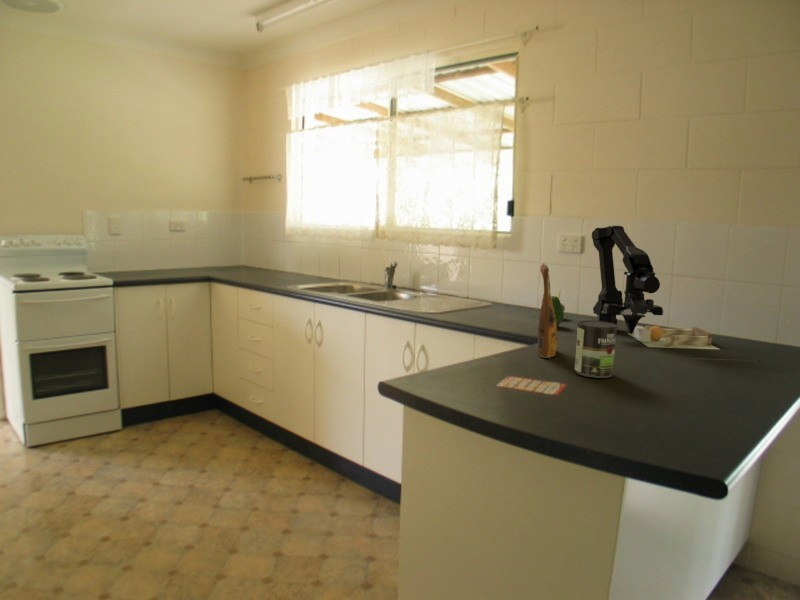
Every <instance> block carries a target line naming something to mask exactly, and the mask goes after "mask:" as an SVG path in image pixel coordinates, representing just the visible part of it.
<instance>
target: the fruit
mask: <svg viewBox="0 0 800 600" xmlns="http://www.w3.org/2000/svg"><path fill="white" fill-rule="evenodd" d="M551 298H552V303H553V308H554V314H555V319H556V326H557V327H558V326H560V325H561V324H562V322H563V320H564V316H565V313H564V312H565V311H563V308H562V305H561V304H562V303H561V300H560V298H559V299H558V296H554V295H553V296H552V295H551Z"/></svg>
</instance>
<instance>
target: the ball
mask: <svg viewBox="0 0 800 600" xmlns="http://www.w3.org/2000/svg"><path fill="white" fill-rule="evenodd" d="M650 327H651V328H649V331H651V334H650V339H652V340H659V339H661V338H662V337H663V330H662V329H663V328H662V327H660V326H658V325H653V326H650ZM661 328H662V329H661Z"/></svg>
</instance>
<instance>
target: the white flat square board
mask: <svg viewBox="0 0 800 600" xmlns="http://www.w3.org/2000/svg"><path fill="white" fill-rule="evenodd" d="M627 335H629V336H631V337H632V338H634V339H635V340H637V341H639V342H640V343H642V344H644V345H645V346H646V347H648V348H664V349H665V348H667V349H669V348H670V349H696V350H698V349H699V350H720V348H718V347H717V346H714V345H712V344H711V346H700V345H673V346H670V347H665V338H663V337H662V338H661V339H659V340H652V339H650V342H642V341H641V340H639V339H638V338H636V337H634V332H633V333H632V334H629V332H627Z"/></svg>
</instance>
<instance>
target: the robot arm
mask: <svg viewBox="0 0 800 600" xmlns="http://www.w3.org/2000/svg"><path fill="white" fill-rule="evenodd" d="M591 239H592V245H593V246H594V248H595V249H596V251H597V253H598V259H599V270H600V281H601V282H600V283H601V290H600V292H599V294H598V295H597V302H595V304H594V306H593V307H592V309H593V310H592V311H593V314H595V315H596V321H603V322H609V323H613V324H616V325H617V326H618V318H617V316H622V317H623V319H624V322H625V325H626V329H627V331H628V332H627V333H629V334H632V333H634V329H635V327H636V326H638V325H637V324H638V323H639V321H640V320H641V319H642V318H645V317H646V314H647V313H650V314H652V315H653V316H664V308H663V307H662V306H660V305H658V304H655V303H654V302H655V301H654V300H653V298H652V299H651V298H648V299H645V293H646V294H647V293H648V294H655V293H656V292H658V290H660V286H661V282H660V280H659V278H658V277H656V272H654V267H653V264H652V262H651V259H650V257H649V254H647V252H646V251H644V250H643V249H641V248H639V247H637V246H636V245H635V243H634V242H633V241H632V240H631V238H630V237H629V236H628V234H627V233H626V230H625V228H624V226H623V225H613V224H612V225H609V226H607V227H595V229H593V231H592V232H591ZM615 245H616V246H617V248H618V249H619V252H620V253H621V254H622V256H623V257H622V264H624V267H625V268H626V270H625V271H624V272H623V275H625V276H626V279H625V290H624V293H623V292H622V291H621V290H618V288H617V285H616V284H617V283H616V275H615V266H614V265H615V264H614V257H613V256H614V253H613V249H614V247H615ZM623 294H624V300H623ZM629 334H628V335H629Z"/></svg>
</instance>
